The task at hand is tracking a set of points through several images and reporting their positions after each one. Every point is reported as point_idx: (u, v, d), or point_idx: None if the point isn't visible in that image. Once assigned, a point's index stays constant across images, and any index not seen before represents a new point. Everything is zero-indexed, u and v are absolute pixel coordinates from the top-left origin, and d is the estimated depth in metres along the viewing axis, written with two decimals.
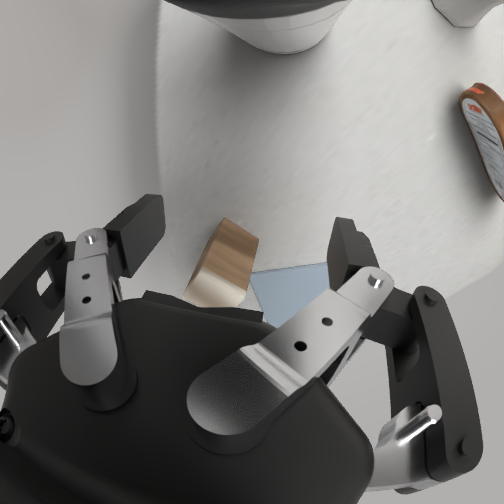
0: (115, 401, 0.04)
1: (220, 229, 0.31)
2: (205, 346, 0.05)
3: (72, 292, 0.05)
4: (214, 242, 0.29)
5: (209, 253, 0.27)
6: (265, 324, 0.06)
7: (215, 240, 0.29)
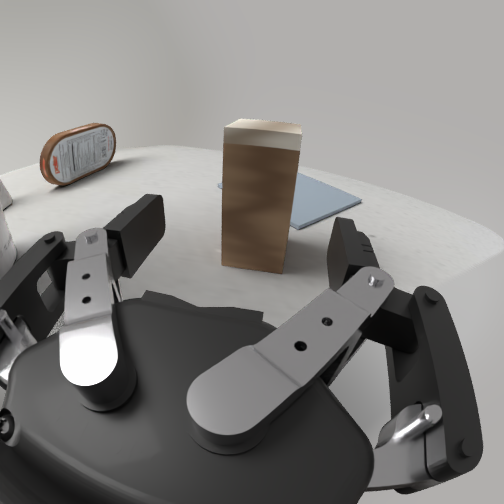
0: (115, 401, 0.04)
1: (222, 235, 0.19)
2: (205, 346, 0.05)
3: (72, 292, 0.05)
4: (222, 202, 0.18)
5: (223, 174, 0.16)
6: (265, 324, 0.06)
7: None
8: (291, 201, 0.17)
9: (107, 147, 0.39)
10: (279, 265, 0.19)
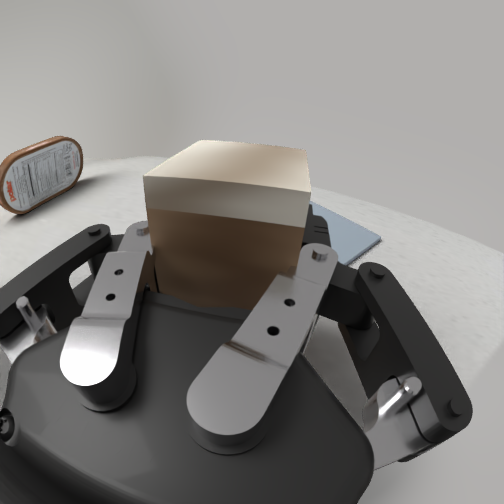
0: (105, 405, 0.04)
1: None
2: (205, 346, 0.05)
3: (100, 285, 0.06)
4: None
5: None
6: None
7: None
8: None
9: (72, 164, 0.31)
10: None
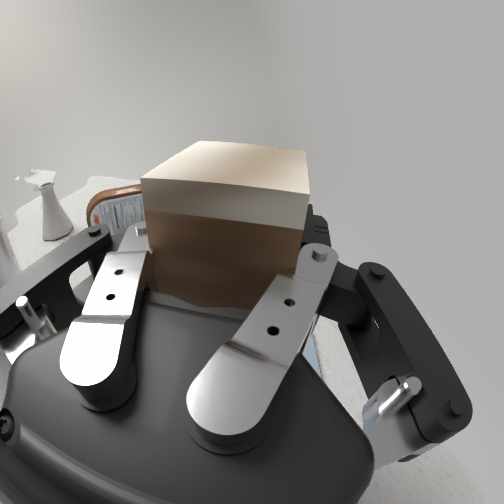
0: (105, 405, 0.04)
1: None
2: (205, 346, 0.05)
3: (100, 285, 0.06)
4: None
5: None
6: None
7: None
8: None
9: None
10: None
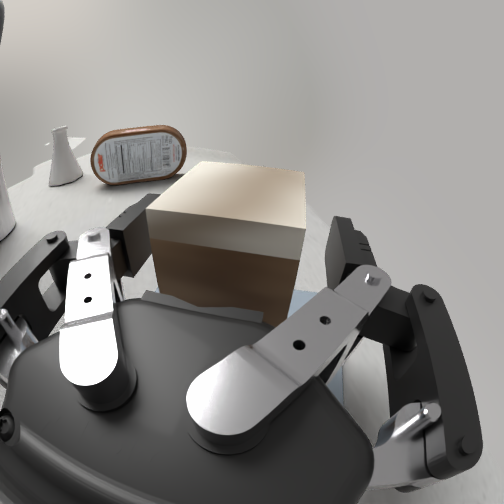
0: (115, 401, 0.04)
1: None
2: (205, 346, 0.05)
3: (74, 291, 0.05)
4: None
5: None
6: (265, 324, 0.06)
7: None
8: None
9: (171, 157, 0.37)
10: None
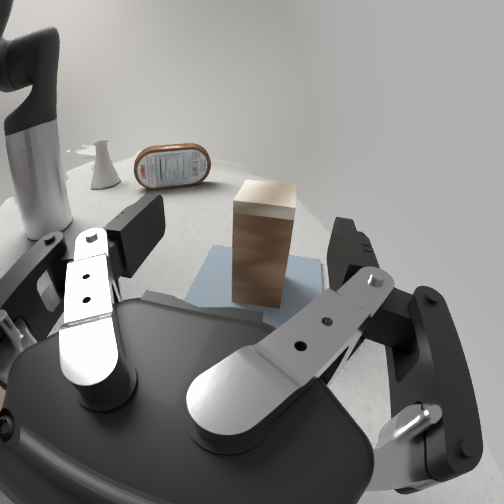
0: (115, 401, 0.04)
1: (232, 280, 0.24)
2: (205, 346, 0.05)
3: (72, 292, 0.05)
4: (232, 256, 0.23)
5: None
6: (265, 324, 0.06)
7: None
8: (286, 257, 0.22)
9: (199, 168, 0.50)
10: (277, 302, 0.24)
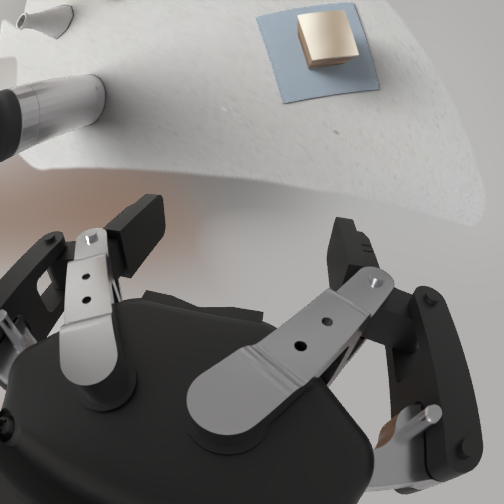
0: (115, 401, 0.04)
1: (308, 66, 0.26)
2: (205, 346, 0.05)
3: (72, 292, 0.05)
4: (309, 64, 0.24)
5: (310, 62, 0.22)
6: (265, 324, 0.06)
7: (309, 64, 0.24)
8: (349, 59, 0.22)
9: None
10: None
